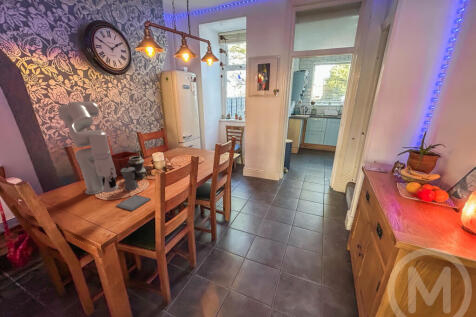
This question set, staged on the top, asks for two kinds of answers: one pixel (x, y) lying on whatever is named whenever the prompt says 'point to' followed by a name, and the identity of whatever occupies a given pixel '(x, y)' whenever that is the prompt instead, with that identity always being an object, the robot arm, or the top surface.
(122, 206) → the slate coaster
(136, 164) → the apothecary jar
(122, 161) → the plant pot
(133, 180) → the coffeepot
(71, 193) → the top surface
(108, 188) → the flask
